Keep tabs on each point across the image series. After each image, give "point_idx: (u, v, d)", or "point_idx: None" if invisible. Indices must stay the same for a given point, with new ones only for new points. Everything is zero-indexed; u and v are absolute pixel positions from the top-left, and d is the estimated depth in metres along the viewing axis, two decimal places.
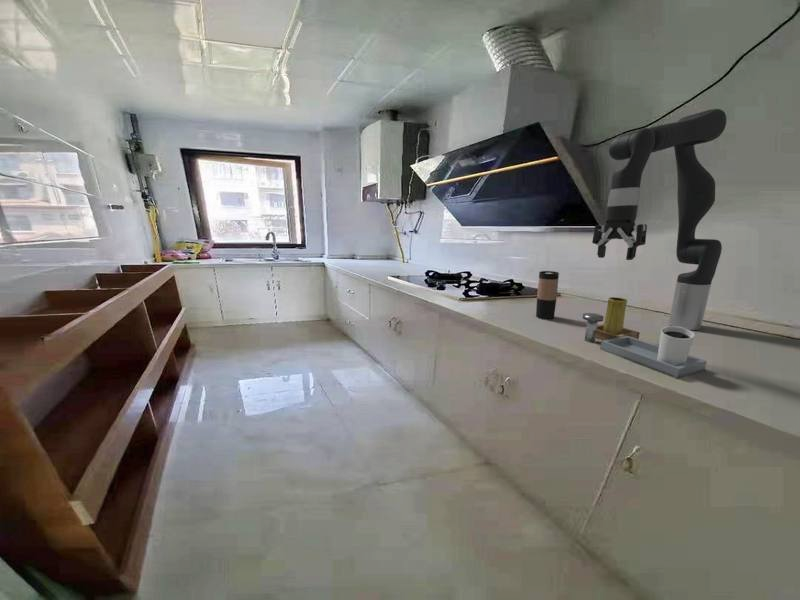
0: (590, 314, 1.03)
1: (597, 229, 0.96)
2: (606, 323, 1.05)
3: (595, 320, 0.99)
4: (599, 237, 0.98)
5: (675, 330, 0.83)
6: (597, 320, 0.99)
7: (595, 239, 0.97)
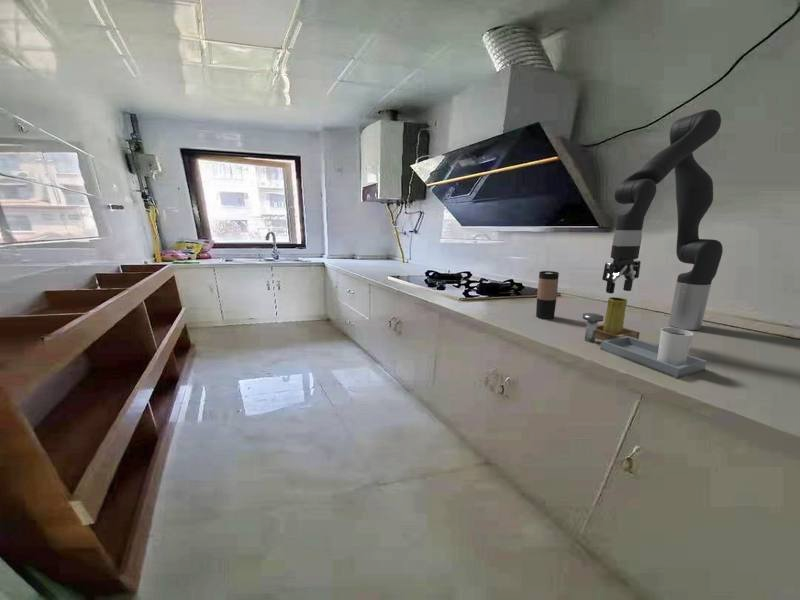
0: (590, 314, 1.03)
1: (613, 267, 0.97)
2: (606, 323, 1.05)
3: (595, 320, 0.99)
4: (606, 274, 1.00)
5: (674, 331, 0.84)
6: (597, 320, 0.99)
7: (611, 277, 0.98)
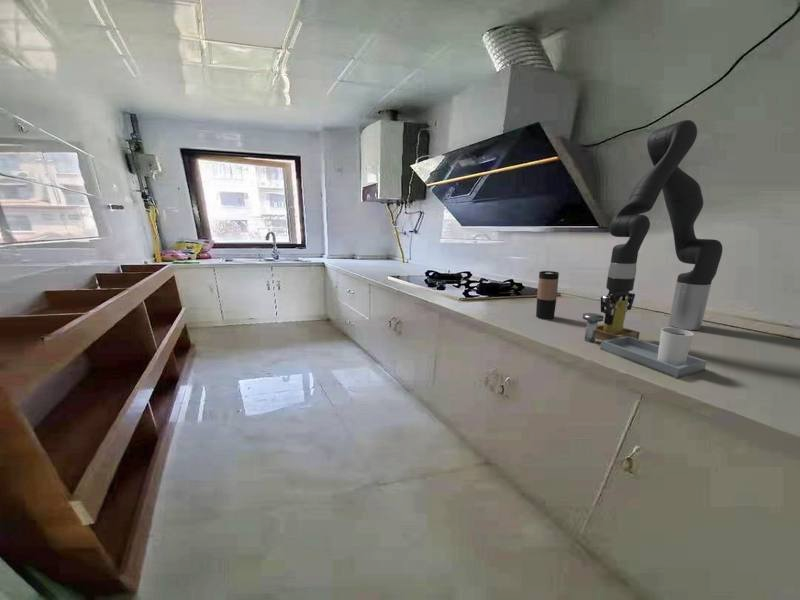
0: (590, 314, 1.03)
1: (609, 301, 1.00)
2: None
3: (595, 320, 0.99)
4: (603, 307, 1.02)
5: (674, 332, 0.84)
6: (597, 320, 0.99)
7: (609, 309, 1.01)
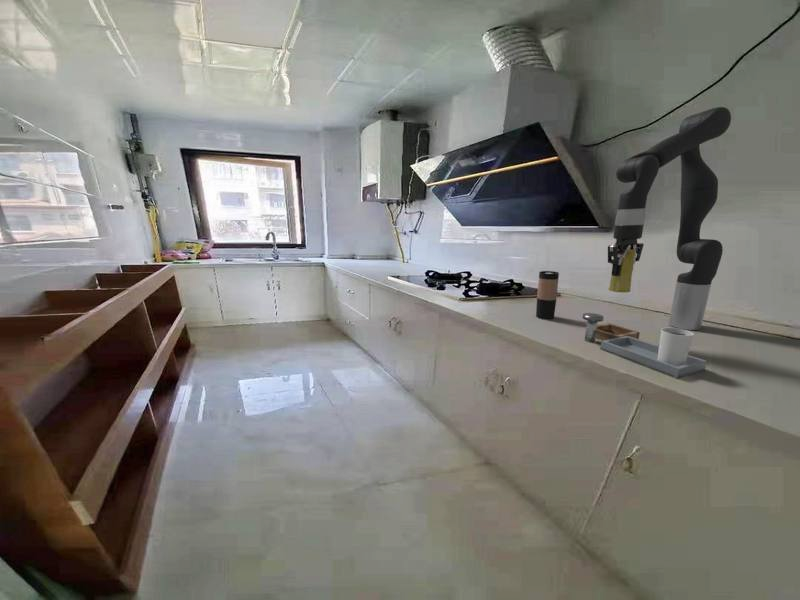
0: (590, 314, 1.03)
1: (617, 249, 0.96)
2: None
3: (595, 320, 0.99)
4: (610, 257, 0.98)
5: (674, 332, 0.84)
6: (597, 320, 0.99)
7: (617, 259, 0.97)
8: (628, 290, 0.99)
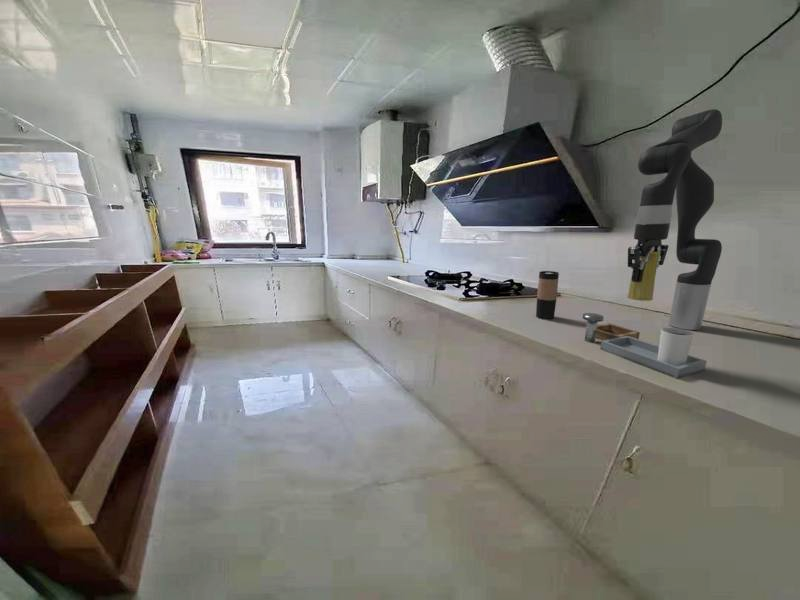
0: (590, 314, 1.03)
1: (639, 251, 0.83)
2: None
3: (595, 320, 0.99)
4: (631, 260, 0.86)
5: (674, 332, 0.84)
6: (597, 320, 0.99)
7: None
8: (650, 298, 0.87)
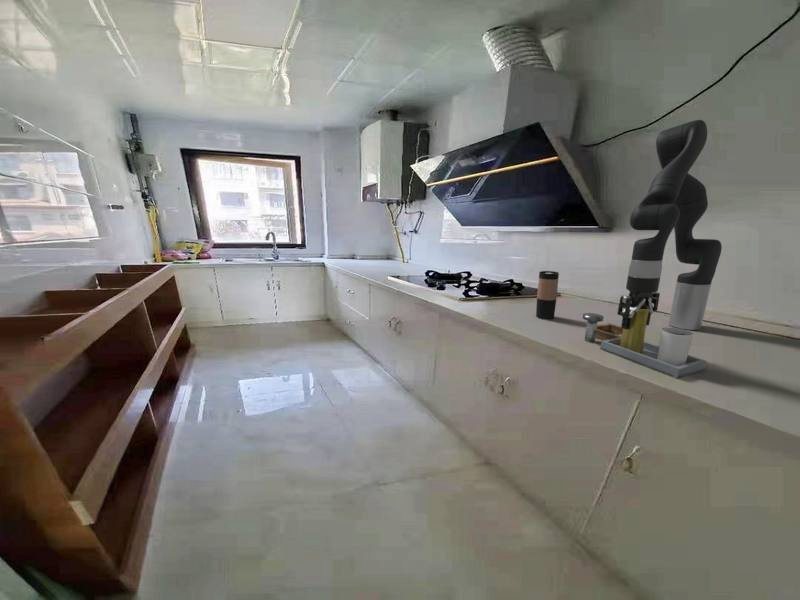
0: (590, 314, 1.03)
1: (630, 301, 0.87)
2: (625, 334, 0.93)
3: (595, 320, 0.99)
4: (621, 308, 0.89)
5: (674, 332, 0.84)
6: (597, 320, 0.99)
7: (628, 312, 0.88)
8: (641, 352, 0.91)
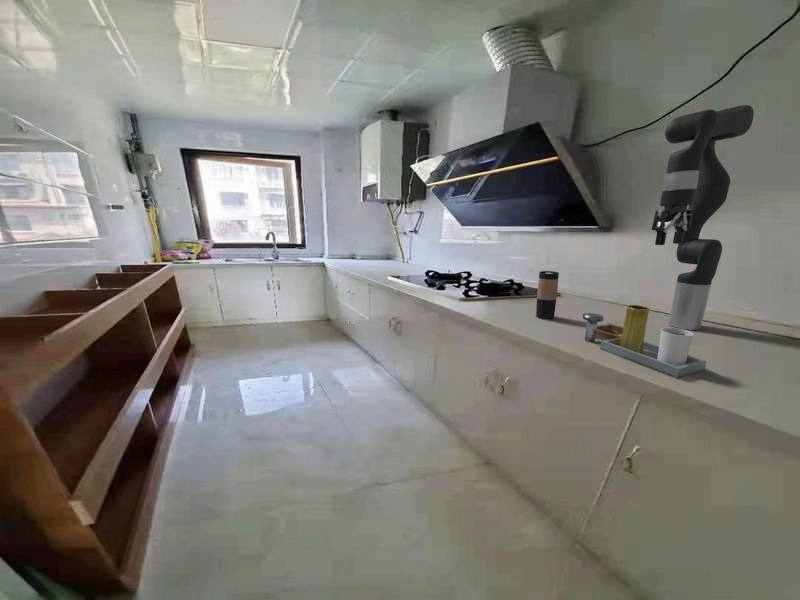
0: (590, 314, 1.03)
1: (666, 214, 0.87)
2: (624, 334, 0.93)
3: (595, 320, 0.99)
4: (656, 223, 0.89)
5: (674, 332, 0.84)
6: (597, 320, 0.99)
7: (663, 225, 0.87)
8: (641, 352, 0.91)
